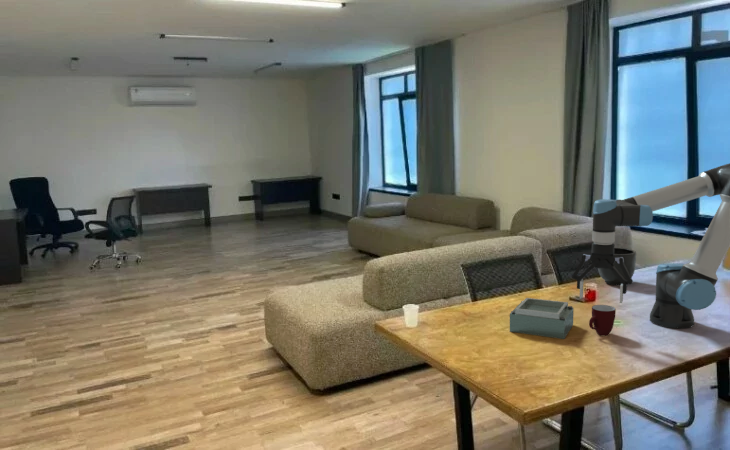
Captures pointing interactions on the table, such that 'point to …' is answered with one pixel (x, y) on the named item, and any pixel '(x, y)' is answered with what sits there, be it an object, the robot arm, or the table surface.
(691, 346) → the table surface
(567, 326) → the grey rectangular container
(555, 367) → the table surface
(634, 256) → the planter
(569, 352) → the table surface
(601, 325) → the mug
